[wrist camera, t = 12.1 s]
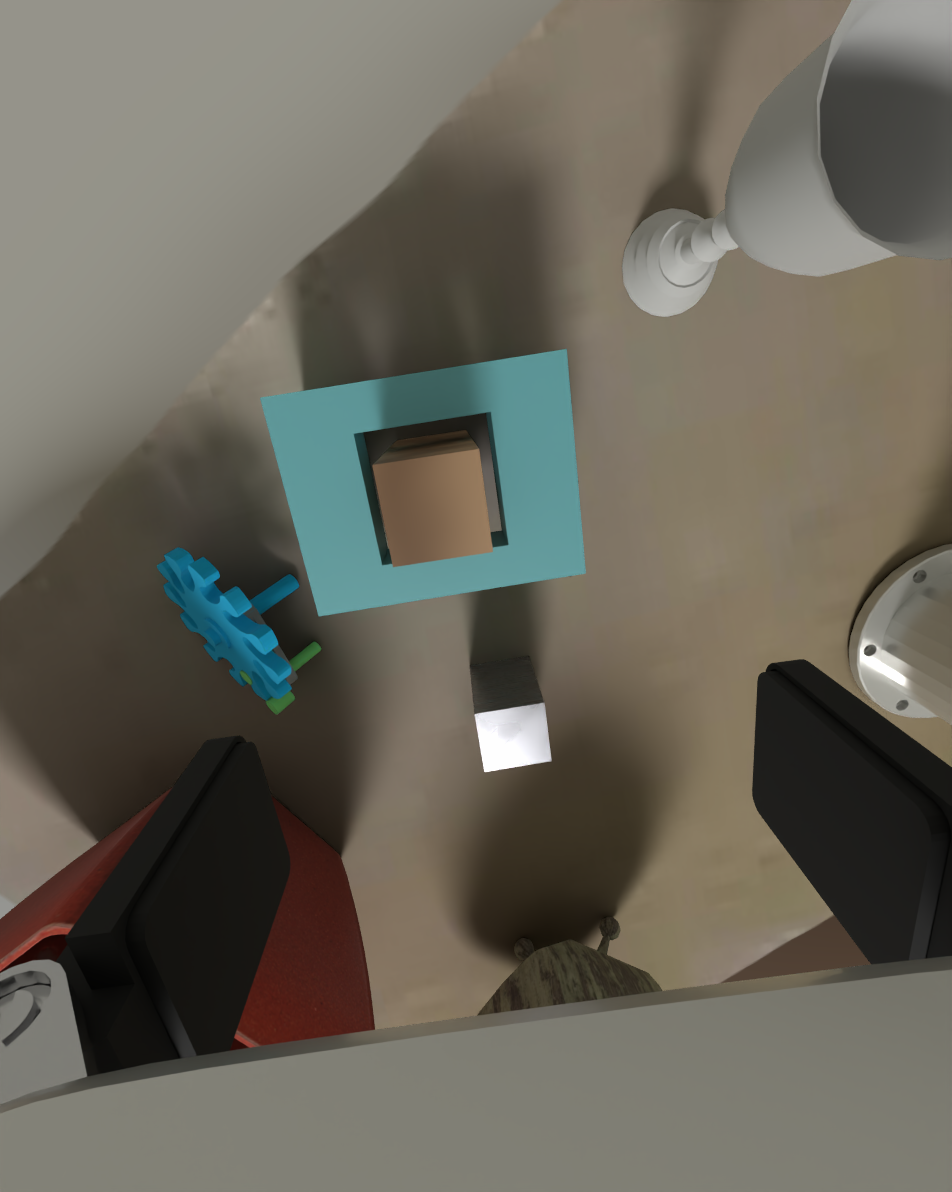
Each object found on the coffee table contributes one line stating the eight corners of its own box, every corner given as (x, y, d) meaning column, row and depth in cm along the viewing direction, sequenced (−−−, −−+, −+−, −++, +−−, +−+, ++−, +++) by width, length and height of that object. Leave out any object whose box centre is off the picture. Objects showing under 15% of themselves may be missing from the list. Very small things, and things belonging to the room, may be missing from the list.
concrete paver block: (528, 655, 37) (544, 702, 31) (535, 707, 38) (551, 760, 33) (469, 665, 37) (474, 714, 31) (478, 716, 38) (484, 771, 33)
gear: (124, 557, 32) (195, 566, 25) (214, 508, 35) (298, 506, 28) (226, 701, 37) (308, 741, 30) (296, 646, 40) (384, 671, 34)
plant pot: (410, 862, 42) (391, 1140, 27) (229, 981, 46) (116, 1293, 30) (224, 691, 37) (59, 917, 21) (31, 840, 40) (-240, 1136, 24)
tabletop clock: (537, 1018, 49) (625, 1586, 26) (450, 984, 47) (460, 1569, 24) (637, 910, 46) (847, 1459, 22) (547, 868, 43) (674, 1426, 20)
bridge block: (536, 360, 31) (566, 348, 23) (554, 534, 34) (585, 573, 27) (304, 397, 31) (260, 398, 23) (345, 567, 34) (318, 616, 27)
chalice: (743, 184, 29) (1181, -122, 12) (730, 329, 31) (1081, 251, 14) (602, 192, 28) (841, -108, 11) (600, 338, 31) (796, 269, 14)
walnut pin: (465, 430, 32) (478, 449, 21) (475, 498, 33) (492, 551, 22) (396, 440, 32) (372, 465, 21) (409, 509, 33) (392, 567, 22)
